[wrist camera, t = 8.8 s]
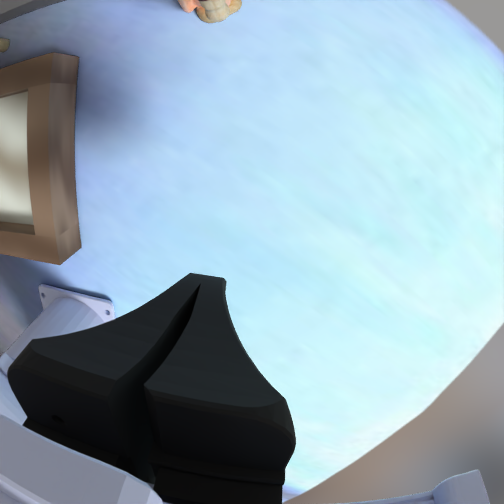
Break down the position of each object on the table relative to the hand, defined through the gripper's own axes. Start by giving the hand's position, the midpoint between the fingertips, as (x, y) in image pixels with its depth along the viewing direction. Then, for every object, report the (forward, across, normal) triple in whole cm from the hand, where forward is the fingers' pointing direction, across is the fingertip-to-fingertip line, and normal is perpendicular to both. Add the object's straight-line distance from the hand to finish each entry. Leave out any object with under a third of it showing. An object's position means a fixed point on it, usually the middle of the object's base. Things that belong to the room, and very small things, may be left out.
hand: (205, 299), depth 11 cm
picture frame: (+9, +21, -4) cm, 23 cm away
